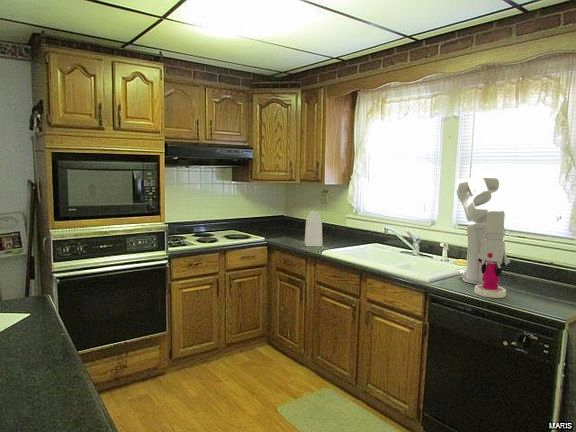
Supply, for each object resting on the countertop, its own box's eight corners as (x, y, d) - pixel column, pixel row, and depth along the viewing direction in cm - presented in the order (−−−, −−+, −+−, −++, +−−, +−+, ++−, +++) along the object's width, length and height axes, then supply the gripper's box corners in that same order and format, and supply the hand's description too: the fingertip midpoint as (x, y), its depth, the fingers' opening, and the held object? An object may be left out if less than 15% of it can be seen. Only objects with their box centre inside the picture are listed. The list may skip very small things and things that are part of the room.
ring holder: (469, 292, 193) (469, 287, 193) (481, 287, 202) (482, 282, 202) (498, 299, 183) (498, 294, 183) (510, 294, 192) (510, 288, 192)
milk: (320, 245, 310) (321, 210, 306) (322, 247, 298) (323, 212, 295) (304, 244, 309) (304, 210, 306) (305, 247, 297) (306, 212, 294)
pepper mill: (488, 285, 197) (491, 244, 195) (502, 289, 191) (505, 246, 189) (478, 287, 194) (481, 245, 192) (492, 291, 188) (495, 248, 185)
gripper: (471, 234, 194) (469, 272, 196) (510, 239, 181) (507, 279, 183) (478, 233, 199) (476, 269, 201) (517, 238, 186) (514, 277, 188)
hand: (491, 274), depth 192 cm, fingers closed on pepper mill, 5 cm apart
